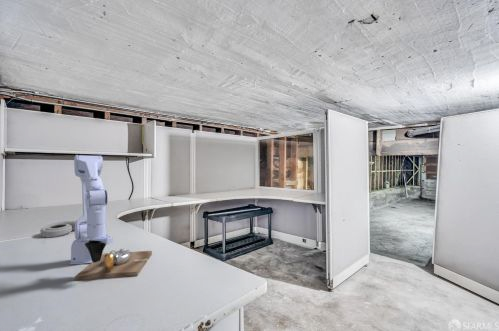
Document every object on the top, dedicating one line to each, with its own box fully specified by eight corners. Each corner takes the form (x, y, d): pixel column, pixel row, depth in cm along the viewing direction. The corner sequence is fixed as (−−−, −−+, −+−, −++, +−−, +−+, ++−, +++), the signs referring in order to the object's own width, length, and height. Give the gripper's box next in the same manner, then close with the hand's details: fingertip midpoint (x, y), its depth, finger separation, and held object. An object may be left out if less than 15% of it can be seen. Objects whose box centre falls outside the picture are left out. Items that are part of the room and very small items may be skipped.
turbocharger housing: (33, 240, 133) (59, 240, 133) (32, 228, 133) (59, 228, 132) (57, 230, 150) (81, 230, 150) (57, 220, 149) (81, 219, 149)
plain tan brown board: (74, 280, 82) (75, 275, 82) (103, 257, 103) (103, 253, 103) (140, 275, 85) (140, 271, 85) (154, 253, 107) (154, 250, 107)
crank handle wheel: (111, 258, 98) (111, 243, 98) (132, 256, 99) (132, 242, 99) (95, 273, 84) (95, 256, 84) (119, 271, 85) (119, 255, 85)
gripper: (72, 224, 86) (72, 262, 86) (98, 228, 80) (98, 269, 80) (92, 220, 92) (92, 255, 92) (117, 223, 86) (117, 261, 86)
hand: (96, 261), depth 86 cm, fingers closed
